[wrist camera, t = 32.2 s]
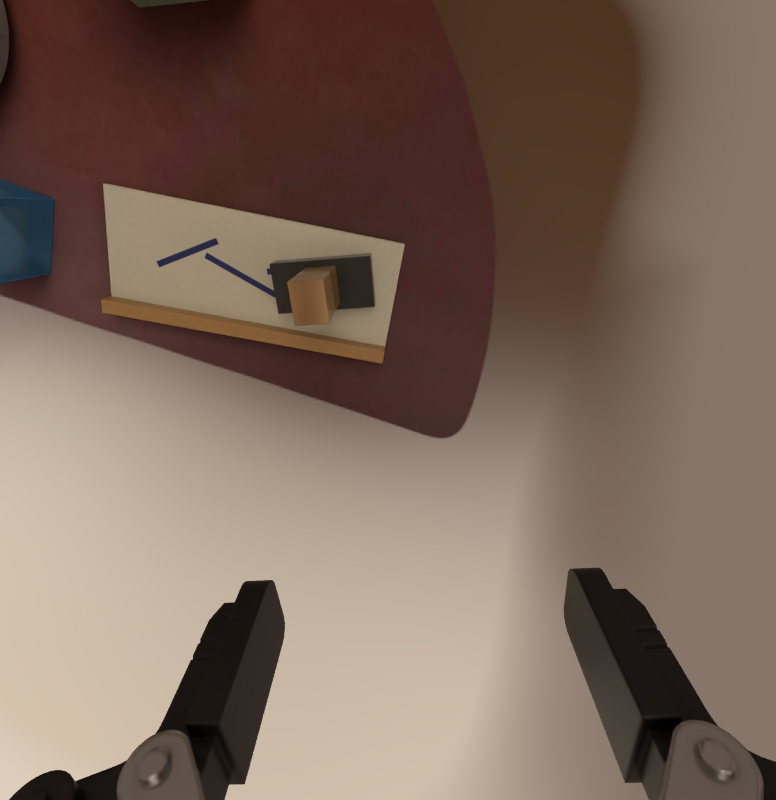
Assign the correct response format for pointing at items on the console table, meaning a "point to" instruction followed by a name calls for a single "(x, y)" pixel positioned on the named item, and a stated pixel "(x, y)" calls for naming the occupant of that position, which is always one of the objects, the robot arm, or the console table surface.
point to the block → (160, 2)
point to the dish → (3, 40)
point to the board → (234, 272)
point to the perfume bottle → (24, 233)
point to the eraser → (322, 286)
